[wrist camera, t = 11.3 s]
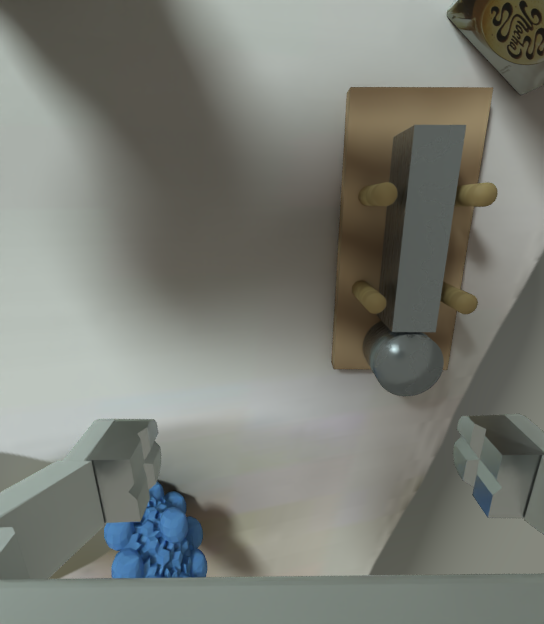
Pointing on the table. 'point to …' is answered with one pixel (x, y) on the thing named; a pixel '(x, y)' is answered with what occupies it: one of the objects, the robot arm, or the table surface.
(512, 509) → the robot arm
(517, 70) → the coffee box
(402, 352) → the grey bar
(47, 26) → the table surface
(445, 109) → the peg board
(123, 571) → the grapes
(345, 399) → the table surface
